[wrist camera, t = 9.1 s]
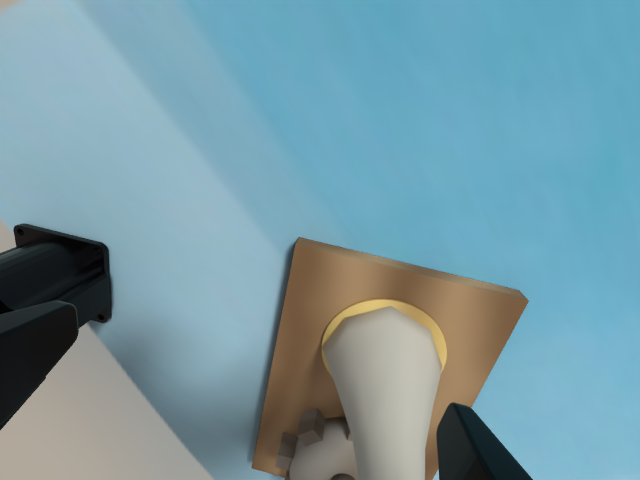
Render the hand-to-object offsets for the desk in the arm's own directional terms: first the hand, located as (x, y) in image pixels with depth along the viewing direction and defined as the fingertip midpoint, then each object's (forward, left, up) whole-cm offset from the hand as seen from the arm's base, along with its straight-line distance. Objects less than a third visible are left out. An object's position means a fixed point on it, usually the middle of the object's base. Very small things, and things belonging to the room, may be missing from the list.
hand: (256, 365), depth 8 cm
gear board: (+6, -13, -13) cm, 19 cm away
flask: (+6, -8, -12) cm, 15 cm away
